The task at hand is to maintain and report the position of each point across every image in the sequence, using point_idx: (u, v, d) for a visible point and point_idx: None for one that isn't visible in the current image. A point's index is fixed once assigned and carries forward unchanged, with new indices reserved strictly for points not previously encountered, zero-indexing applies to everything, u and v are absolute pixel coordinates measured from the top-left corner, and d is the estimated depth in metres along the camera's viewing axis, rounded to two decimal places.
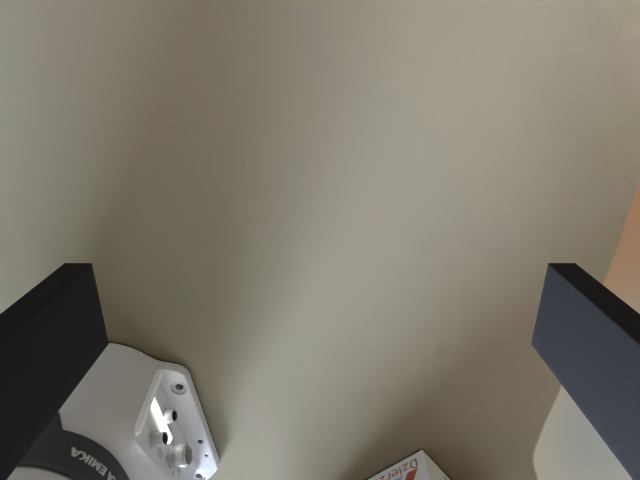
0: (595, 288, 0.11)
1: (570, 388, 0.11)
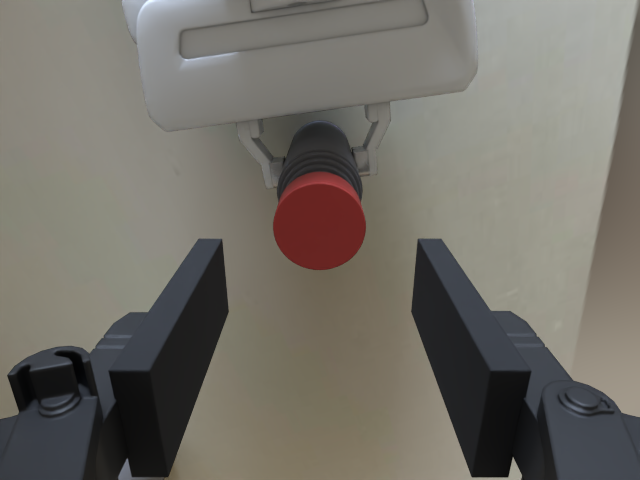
0: (444, 258, 0.13)
1: (426, 344, 0.13)
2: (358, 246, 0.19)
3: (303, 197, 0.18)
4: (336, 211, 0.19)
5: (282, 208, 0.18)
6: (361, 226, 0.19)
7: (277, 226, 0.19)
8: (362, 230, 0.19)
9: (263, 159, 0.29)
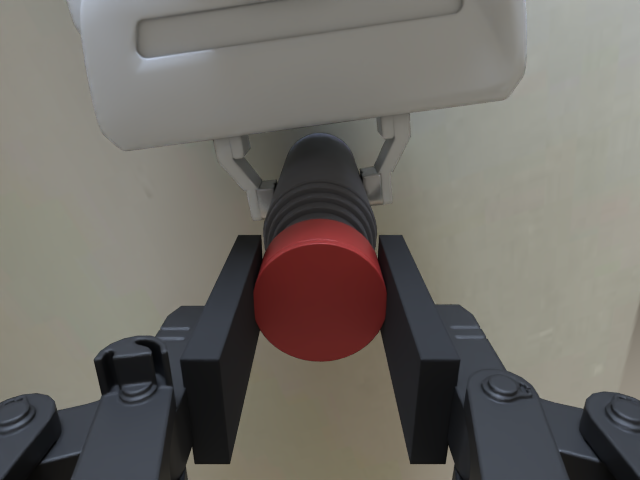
0: (400, 253, 0.13)
1: (383, 338, 0.13)
2: (376, 330, 0.13)
3: (296, 263, 0.12)
4: (345, 282, 0.13)
5: (265, 278, 0.13)
6: (381, 303, 0.13)
7: (258, 303, 0.13)
8: (382, 308, 0.13)
9: (248, 185, 0.23)
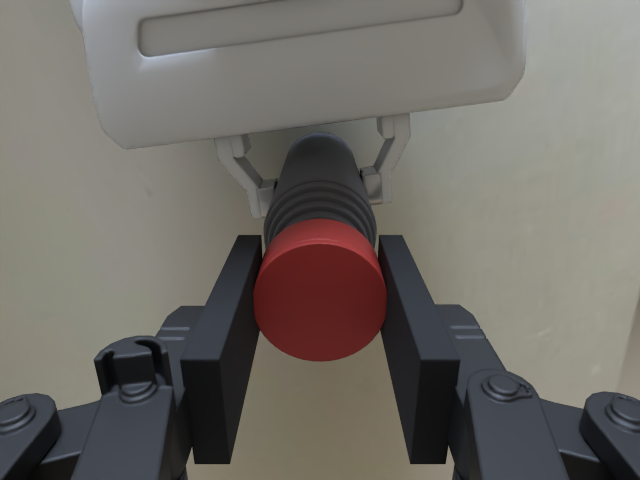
0: (400, 253, 0.13)
1: (383, 338, 0.13)
2: (315, 246, 0.12)
3: (291, 342, 0.13)
4: (284, 298, 0.13)
5: (320, 357, 0.14)
6: (285, 258, 0.12)
7: (347, 351, 0.13)
8: (289, 254, 0.12)
9: (249, 184, 0.23)
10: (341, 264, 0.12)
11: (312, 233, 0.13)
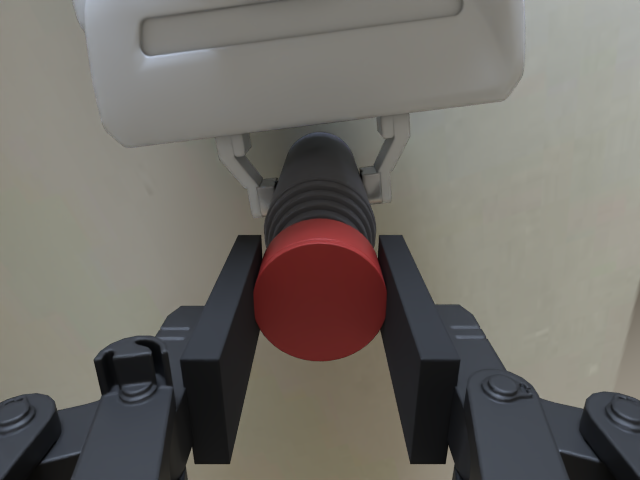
0: (400, 253, 0.13)
1: (383, 338, 0.13)
2: (267, 336, 0.13)
3: (372, 308, 0.13)
4: (330, 334, 0.13)
5: (374, 278, 0.12)
6: (293, 351, 0.13)
7: (354, 258, 0.12)
8: (287, 349, 0.13)
9: (249, 182, 0.23)
10: (270, 310, 0.13)
11: None
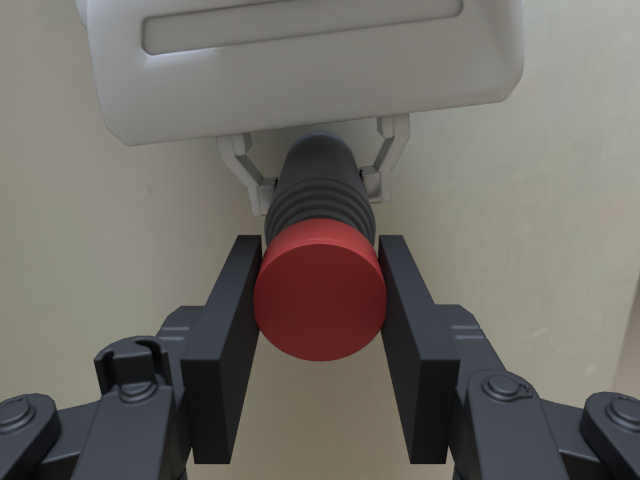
0: (400, 253, 0.13)
1: (383, 338, 0.13)
2: (376, 330, 0.13)
3: (296, 263, 0.12)
4: (345, 282, 0.13)
5: (265, 278, 0.12)
6: (381, 302, 0.13)
7: (258, 303, 0.13)
8: (383, 308, 0.13)
9: (250, 181, 0.23)
10: (348, 340, 0.13)
11: None
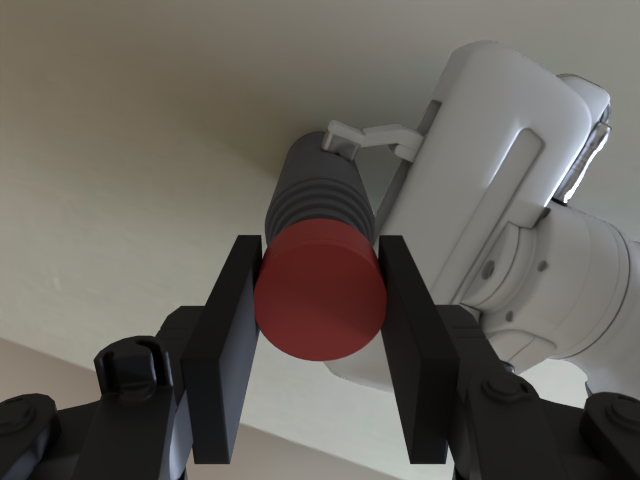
0: (400, 253, 0.13)
1: (384, 338, 0.13)
2: (376, 330, 0.13)
3: (296, 263, 0.12)
4: (345, 282, 0.13)
5: (265, 278, 0.12)
6: (381, 303, 0.13)
7: (258, 303, 0.13)
8: (383, 308, 0.13)
9: (367, 141, 0.22)
10: (348, 340, 0.13)
11: None
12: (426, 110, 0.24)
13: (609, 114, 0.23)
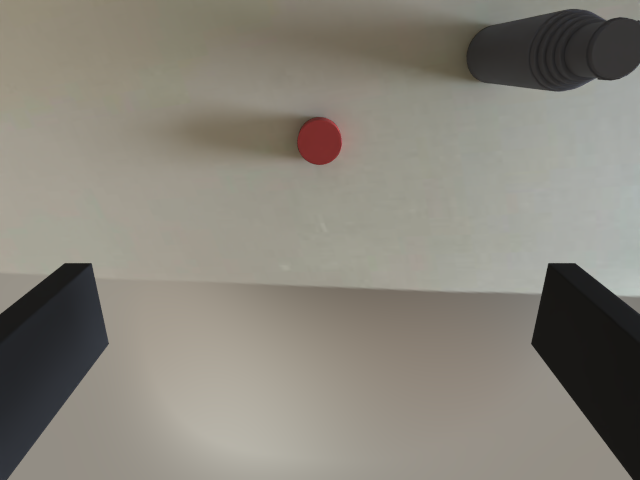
0: (595, 288, 0.11)
1: (570, 388, 0.11)
2: (338, 152, 0.40)
3: (312, 127, 0.39)
4: (327, 134, 0.39)
5: (302, 132, 0.39)
6: (339, 141, 0.39)
7: (299, 141, 0.39)
8: (340, 143, 0.39)
9: None
10: (329, 156, 0.40)
11: None
12: None
13: None
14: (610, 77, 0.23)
